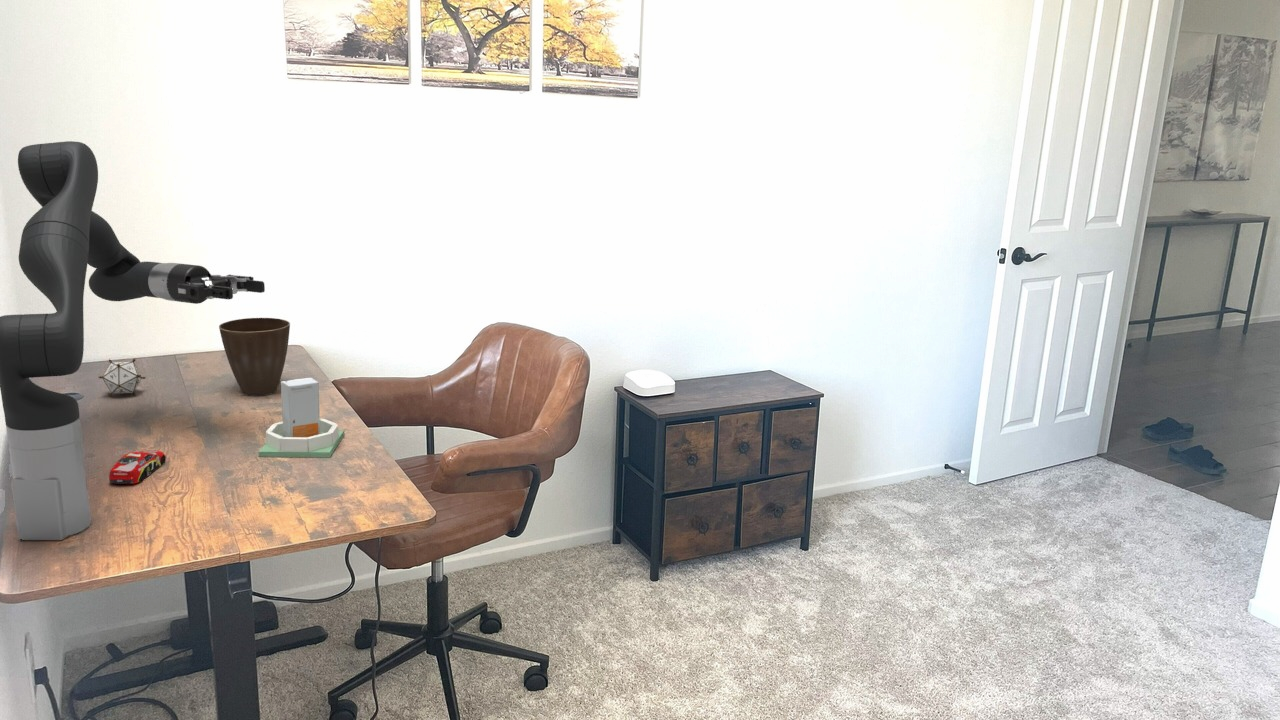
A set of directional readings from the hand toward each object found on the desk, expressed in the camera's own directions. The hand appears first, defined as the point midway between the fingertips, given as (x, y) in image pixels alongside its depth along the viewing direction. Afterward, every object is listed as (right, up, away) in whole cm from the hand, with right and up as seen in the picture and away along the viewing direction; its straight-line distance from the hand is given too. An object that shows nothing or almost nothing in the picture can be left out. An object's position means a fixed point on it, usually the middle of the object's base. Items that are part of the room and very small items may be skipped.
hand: (247, 290), depth 175 cm
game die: (-41, -21, +30) cm, 55 cm away
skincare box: (+9, -29, +4) cm, 31 cm away
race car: (-14, -34, -13) cm, 39 cm away
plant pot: (-13, -21, +37) cm, 44 cm away
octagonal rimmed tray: (+9, -30, +4) cm, 32 cm away
